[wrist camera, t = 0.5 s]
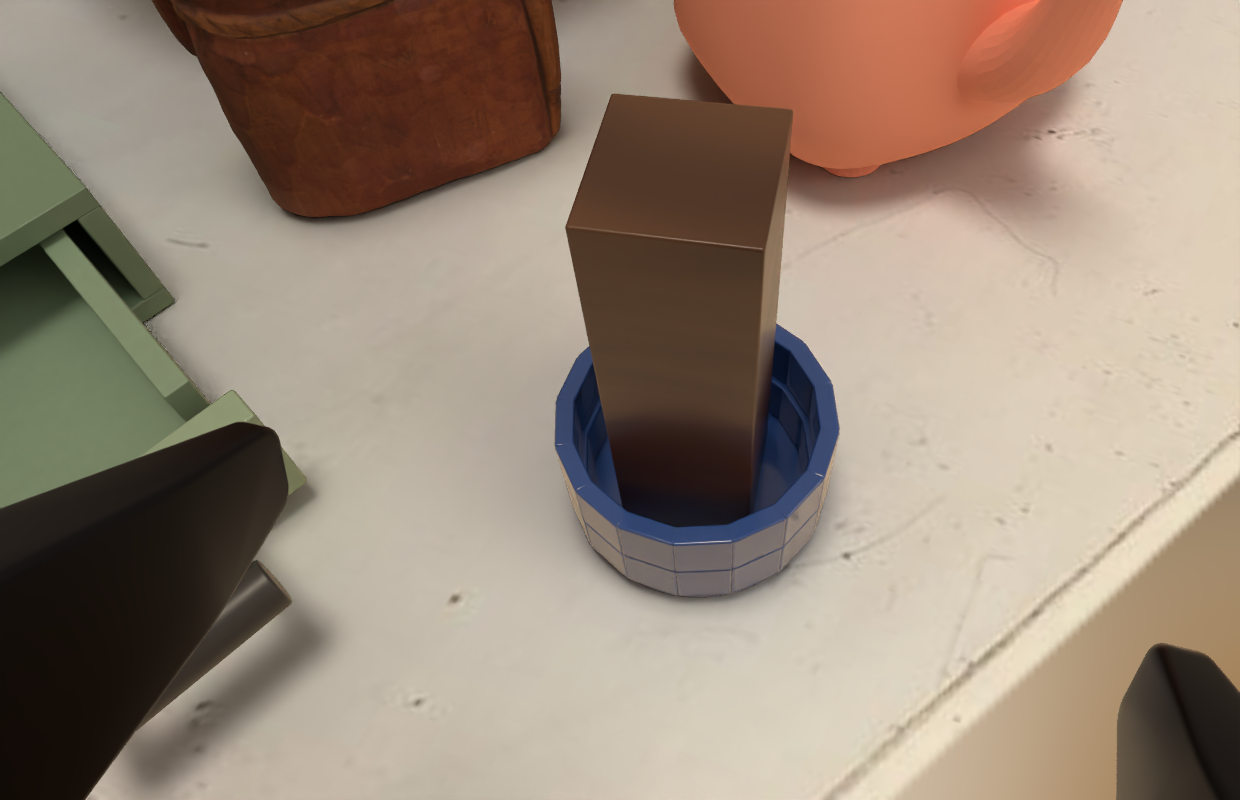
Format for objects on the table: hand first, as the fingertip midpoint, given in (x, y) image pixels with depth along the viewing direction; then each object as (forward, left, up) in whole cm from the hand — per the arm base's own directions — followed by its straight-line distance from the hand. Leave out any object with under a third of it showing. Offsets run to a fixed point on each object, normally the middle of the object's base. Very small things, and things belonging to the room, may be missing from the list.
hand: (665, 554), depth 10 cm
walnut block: (+8, +3, -15) cm, 18 cm away
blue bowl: (+8, +3, -16) cm, 18 cm away
